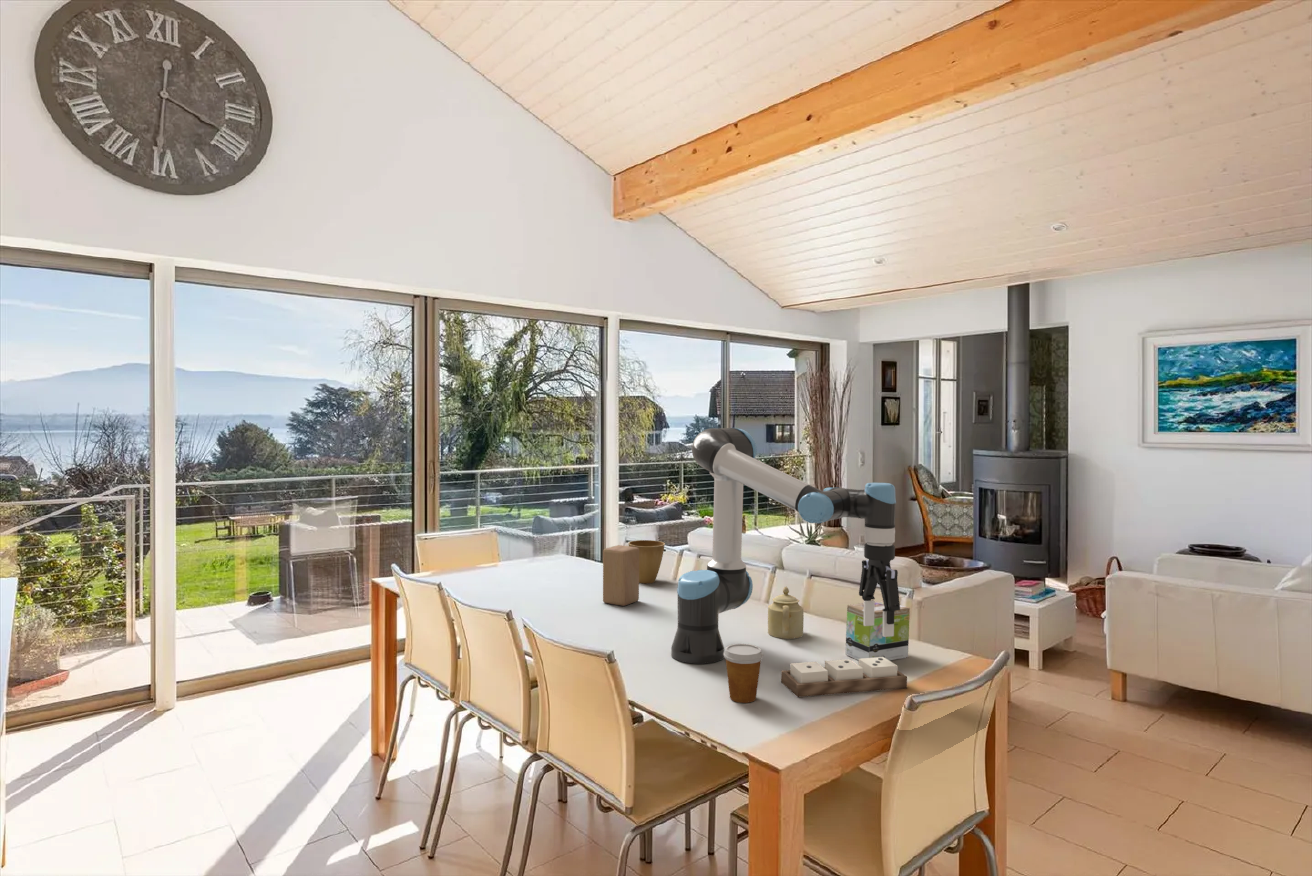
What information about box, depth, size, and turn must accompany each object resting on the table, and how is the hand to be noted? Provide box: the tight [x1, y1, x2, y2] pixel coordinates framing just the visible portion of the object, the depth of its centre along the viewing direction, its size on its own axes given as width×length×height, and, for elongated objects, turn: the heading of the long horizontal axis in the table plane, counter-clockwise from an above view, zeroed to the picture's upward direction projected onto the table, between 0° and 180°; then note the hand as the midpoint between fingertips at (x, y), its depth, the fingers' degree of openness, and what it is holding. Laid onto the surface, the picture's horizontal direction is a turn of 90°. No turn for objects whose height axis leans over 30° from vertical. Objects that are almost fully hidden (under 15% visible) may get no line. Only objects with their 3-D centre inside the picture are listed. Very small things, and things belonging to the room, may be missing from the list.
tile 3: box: [858, 657, 898, 678], centre depth 191 cm, size 7×7×3 cm
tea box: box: [845, 600, 911, 661], centre depth 212 cm, size 15×10×15 cm, turn 117°
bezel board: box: [780, 666, 908, 698], centre depth 189 cm, size 30×10×3 cm, turn 103°
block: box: [602, 544, 640, 607], centre depth 272 cm, size 10×10×20 cm
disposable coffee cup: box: [724, 643, 764, 704], centre depth 180 cm, size 10×10×12 cm
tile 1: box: [789, 661, 828, 683], centre depth 187 cm, size 7×7×3 cm
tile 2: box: [824, 658, 863, 681], centre depth 189 cm, size 7×7×3 cm
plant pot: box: [628, 539, 666, 584], centre depth 306 cm, size 15×15×16 cm
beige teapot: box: [767, 586, 805, 640], centre depth 232 cm, size 15×11×15 cm
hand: (878, 630), depth 191 cm, fingers open, 9 cm apart
